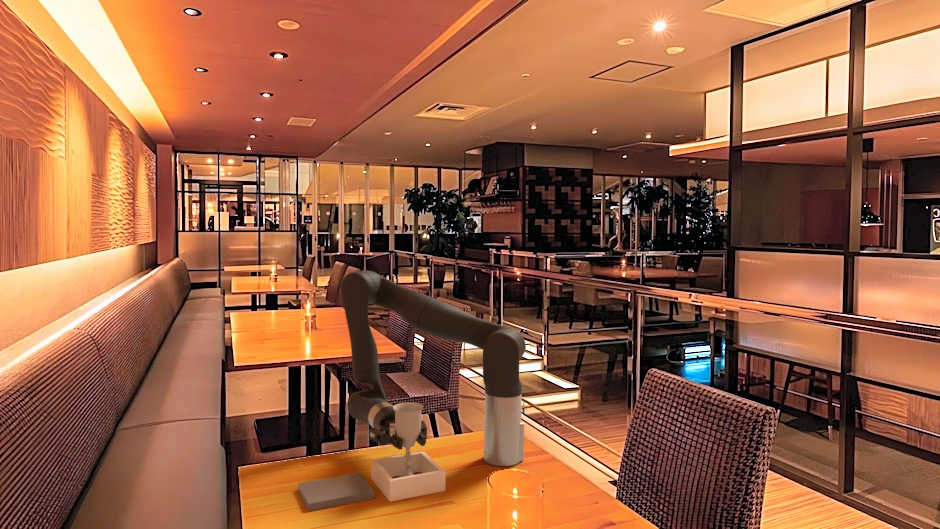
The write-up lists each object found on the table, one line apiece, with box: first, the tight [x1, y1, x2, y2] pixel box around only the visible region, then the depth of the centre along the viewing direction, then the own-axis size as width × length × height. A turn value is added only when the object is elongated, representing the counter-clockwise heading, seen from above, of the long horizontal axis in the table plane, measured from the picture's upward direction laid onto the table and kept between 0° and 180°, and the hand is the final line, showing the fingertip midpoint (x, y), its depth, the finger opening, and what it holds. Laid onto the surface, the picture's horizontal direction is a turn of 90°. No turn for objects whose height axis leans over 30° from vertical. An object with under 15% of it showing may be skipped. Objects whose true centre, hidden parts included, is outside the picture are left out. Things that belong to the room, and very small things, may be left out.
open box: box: [370, 450, 447, 502], centre depth 138 cm, size 13×13×4 cm
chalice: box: [393, 401, 424, 477], centre depth 138 cm, size 7×7×18 cm
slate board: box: [297, 472, 375, 512], centre depth 133 cm, size 14×11×2 cm
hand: (412, 443), depth 135 cm, fingers closed on chalice, 4 cm apart
